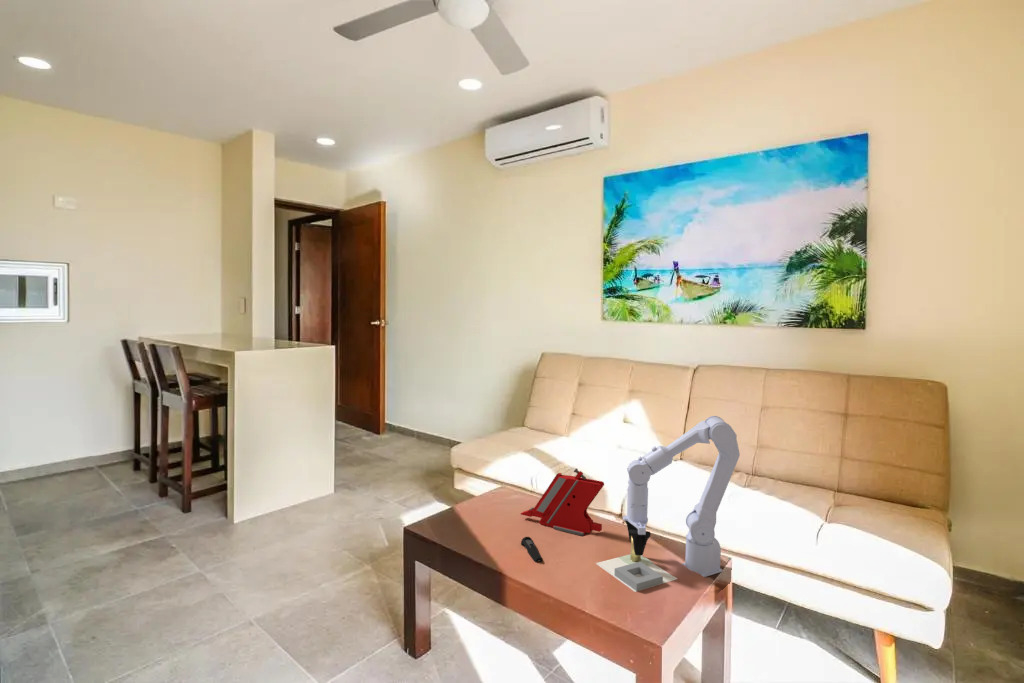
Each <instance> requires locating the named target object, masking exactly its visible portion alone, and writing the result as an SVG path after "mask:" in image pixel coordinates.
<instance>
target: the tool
mask: <svg viewBox="0 0 1024 683" xmlns="http://www.w3.org/2000/svg"><path fill="white" fill-rule="evenodd" d="M578 469H579V468H577V467H576V468H575V469H574V470H573V473H575V474H576V475H575V476H574V475H567V474H563V473H562V472H558V473H556V474H555V476H554V478H553V479H552V480H551V482H550V484H549V485H548V487H547V488H546V490H545V491H544V493H543V494H542V495H541V497H540V499H539V500H538V502H537V503H536V505H535V506H534V507H530V508H529V509H528V510H525V511H522V512H521V513H520V516H521V515H522V516H525V517H530V518H531V517H536V518H540V520H539V521H538V523H539V524H540V525H541V526H547V527H550V528H553V530H556V531H560V532H563V533H568V534H573V535H576V536H577V535H578V536H580V537H585V535H586V534H591V533H592V531H594V532H595V531H596V532H601V531H602V530H603V523H598V522H595V521H594V520H593V519H592V518H591V516H590V514H588V508H589V507H590V505H591V504H592V502H593V501H594V500H595V498H596V497H597V495H598V494H599V493H600V491H601V490H602V488H603V487H604V486H605V483H604V481H602V480H598V479H597V480H596V479H592V478H587V477H586V476H585V475H584V472H582V471H581V470H578Z"/></svg>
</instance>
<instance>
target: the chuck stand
mask: <svg viewBox="0 0 1024 683" xmlns="http://www.w3.org/2000/svg"><path fill="white" fill-rule="evenodd" d="M595 564H596V566H598V567H600V568H601V569H603V570H604V571H605V572H607V573H608V574H609V575H611V576H612V577H614V578H615V579H616V580H618V581H619V582H620V583H622V584H623V585H625V586H626V587H628V589H630V590H631V591H633V592H634V593H635V592H640V591H643V590H647V589H650V588H653V587H656V586H659V585H662V584H666V583H669V582H672V581H675V580H678V578H677V577H676V576H674V575H672V574H671V573H669V572H668V571H666V570H664V569H663V568H661V567H659V566H658V565H657V564H655V563H654V562H653V561H652V560H650V559H648V558H647V557H645V556H643V555H641V561H640V562H633V561H631V560H630V553H629V554H626V555H625V554H624V555H622V556H618V557H615V558H614V557H613V558H611V559H607V560H603V561H599V562H595Z"/></svg>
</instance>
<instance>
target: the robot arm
mask: <svg viewBox="0 0 1024 683" xmlns="http://www.w3.org/2000/svg"><path fill="white" fill-rule="evenodd" d="M737 436H738V434H737V433H736V432H735V430H734V429H733V428H732V426H731V425H730V424H729V423H727V422H726V421H725V420H724V419H723V418H722V417H720V416H718V415H712V416H711V415H710V416H709V417H707V418H706V419H705V420H701V421H699V422H698V423H697V424H696V425H694V426H693V427H692V428H690V429H689V430H688V431H686V432H684V433H683V434H681V436H679V437H678V438H677V439H674V441H673V442H671V443H670V444H668V445H667V446H663V445H658V446H652V447H651V451H649V452H648V453H646V454H645V455H643V456H638V457H637V460H636V459H635V460H632V461H631V462H630V463H629V464H628V467H627V468H626V469H627V474H628V480H627V481H628V482H627V483H628V485H627V500H626V501H627V504H626V505H627V506H626V507H627V508H626V509H627V510H626V515H622V520H623V521H625V524H626V528H627V533H628V540H629V543H630V544H631V536H632V539H633V545H634V552H635V555H642V556H643V554H644V552H645V548H646V545H647V543H648V540H649V538H650V537H651V532H650V531H647V529H646V527H647V524H648V522H649V517H648V507H649V506H648V504H649V502H648V501H649V487H648V484H649V481H650V479H651V476H653V475H655V474H657V473H658V472H660V471H662V470H664V469H665V468H666V467H668V466H669V465H671V464H672V463H673V459H674V458H675V456H678V455H679V454H680V453H682V452H684V451H686V450H688V449H689V448H690V447H693V446H694V445H696V444H711V441H712V443H713V444H714V446H715V448H716V449H717V451H718V454H717V458H716V459H715V462H714V465H713V467H712V469H711V471H710V475H709V477H708V480H707V481H706V484H705V486H704V489H703V491H702V494H701V496H700V499H699V502H698V503H696V504H695V505H694V507H693V509H692V511H690V512H689V513H688V514H687V516H686V518H685V524H686V526H687V528H688V532H687V534H686V535H685V557H684V558H685V559H684V560H685V561H684V562H683V563H681V565H683V566H685V568H687V570H688V571H689V570H690V571H691V572H694V573H697V574H699V575H701V576H702V577H703V578H706V577H708V576H709V577H710V576H713V575H715V574H719V573H723V569H722V568H721V558H722V557H721V556H722V554H721V553H722V552H721V551H722V549H721V544H720V542H719V541H718V539H717V538H716V533H715V526H716V525H717V512H718V510H719V507H720V505H721V502H722V500H723V498H724V496H725V493H726V490H727V487H728V486H729V484H730V483H729V482H730V480H731V478H732V476H733V473H734V471H735V468H736V466H737V463H738V461H739V458H740V449H739V444H738V440H737ZM710 440H711V441H710Z"/></svg>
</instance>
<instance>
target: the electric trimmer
mask: <svg viewBox="0 0 1024 683" xmlns="http://www.w3.org/2000/svg"><path fill="white" fill-rule="evenodd" d="M520 545H521V546H524V548H525V549H526V550H527V554H528V555H529V556H530V558H531V559H532V560H533V562H535V563H538V562H540V563H541V562H543V558H542V556H541V554H540V552H539V550H538V549H537V546H536V544H535V542H534V540H533V539H532V537H530V536H525V537H522V539H521V542H520Z"/></svg>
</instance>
